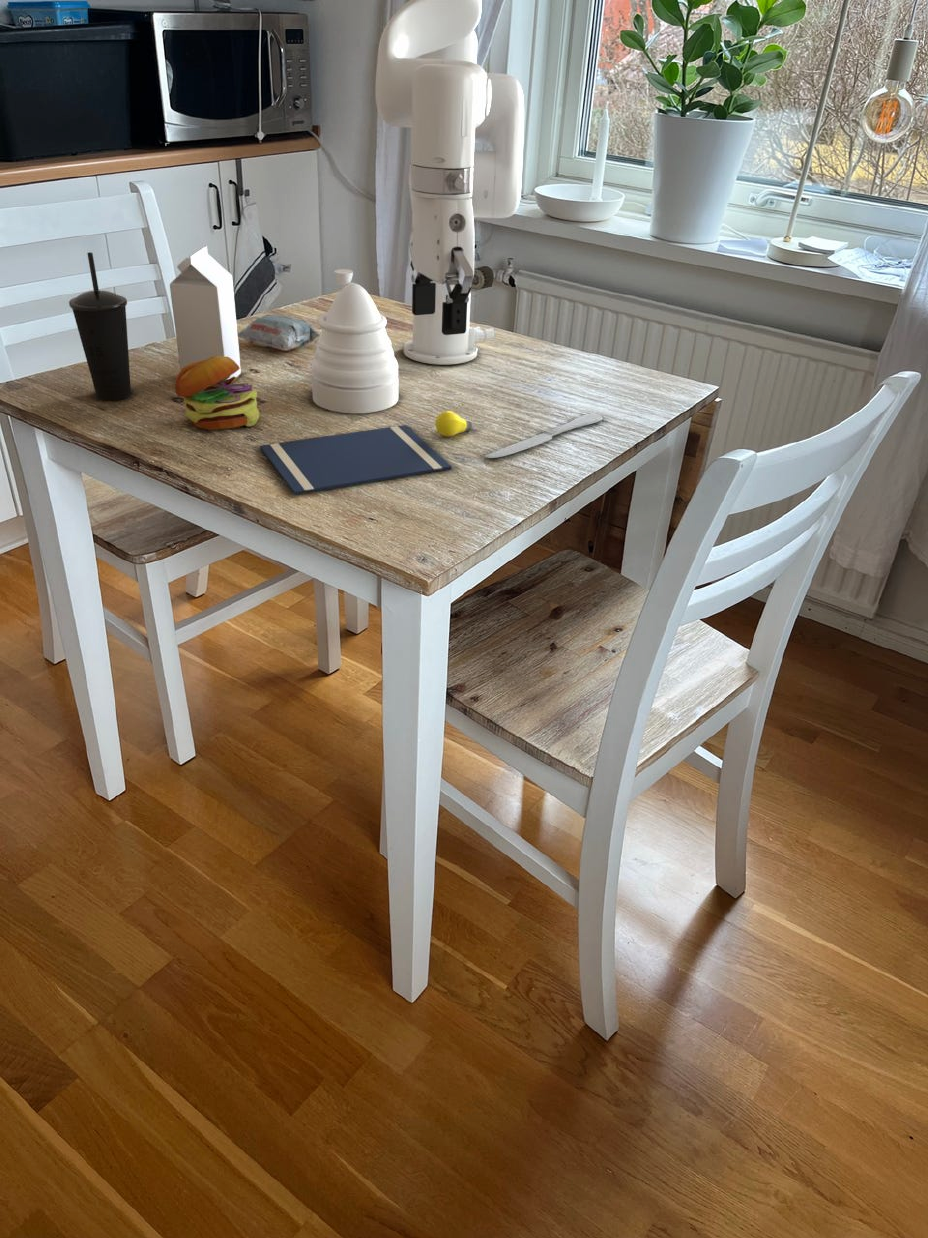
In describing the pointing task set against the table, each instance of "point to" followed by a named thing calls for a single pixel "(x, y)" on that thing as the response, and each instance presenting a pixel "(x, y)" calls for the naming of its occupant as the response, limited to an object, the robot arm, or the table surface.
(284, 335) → the packaged food
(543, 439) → the butter knife
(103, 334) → the drinking cup
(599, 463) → the table surface
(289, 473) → the dish cloth
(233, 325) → the milk carton
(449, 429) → the light bulb
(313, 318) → the table surface
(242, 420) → the cheeseburger
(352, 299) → the honey pot
